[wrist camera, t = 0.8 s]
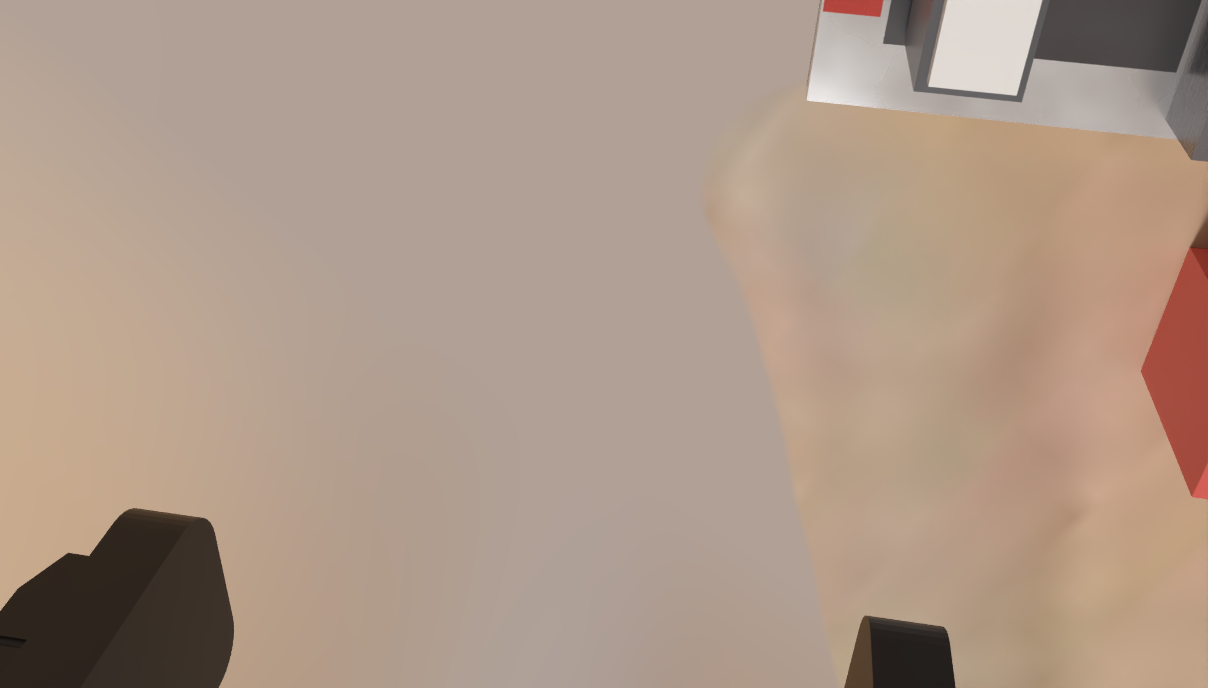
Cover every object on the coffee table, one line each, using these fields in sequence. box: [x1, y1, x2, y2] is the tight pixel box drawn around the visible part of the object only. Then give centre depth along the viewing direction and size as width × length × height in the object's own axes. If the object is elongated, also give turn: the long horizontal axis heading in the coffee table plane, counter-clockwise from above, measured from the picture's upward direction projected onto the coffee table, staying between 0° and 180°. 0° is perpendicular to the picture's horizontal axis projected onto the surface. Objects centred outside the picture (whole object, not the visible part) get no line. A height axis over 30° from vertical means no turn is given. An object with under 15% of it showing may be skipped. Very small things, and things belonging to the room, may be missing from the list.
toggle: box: [904, 0, 1050, 103], centre depth 27 cm, size 2×3×4 cm
